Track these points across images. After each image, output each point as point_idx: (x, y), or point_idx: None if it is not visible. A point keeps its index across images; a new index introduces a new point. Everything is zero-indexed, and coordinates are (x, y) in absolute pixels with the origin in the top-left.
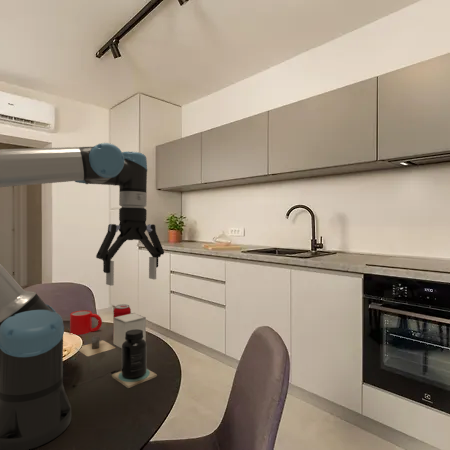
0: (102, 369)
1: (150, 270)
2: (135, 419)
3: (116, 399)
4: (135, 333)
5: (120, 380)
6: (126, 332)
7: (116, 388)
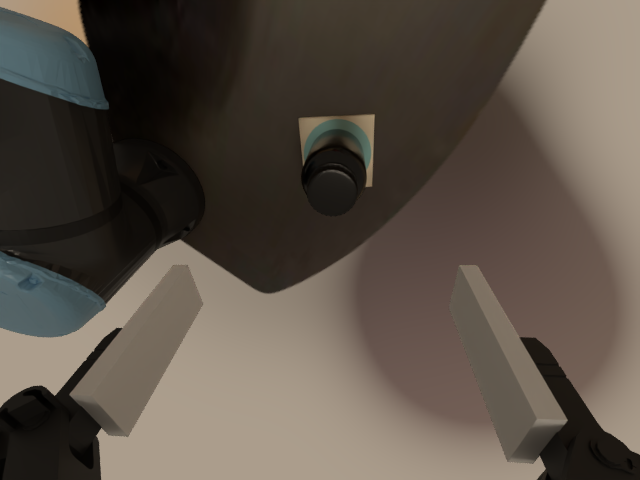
0: (296, 57)
1: (476, 319)
2: (279, 261)
3: (275, 204)
4: (327, 208)
5: (303, 158)
6: (311, 183)
7: (289, 171)
